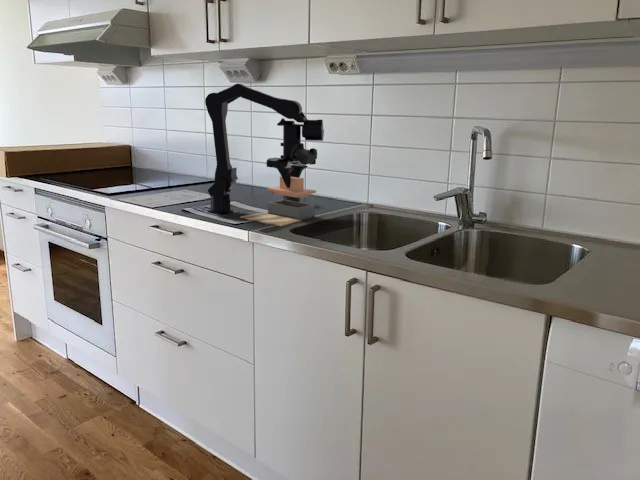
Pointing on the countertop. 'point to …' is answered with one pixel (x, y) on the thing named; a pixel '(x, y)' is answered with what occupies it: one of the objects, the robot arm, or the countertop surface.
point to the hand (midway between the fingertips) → (291, 187)
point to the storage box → (291, 209)
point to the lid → (292, 188)
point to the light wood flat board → (271, 219)
